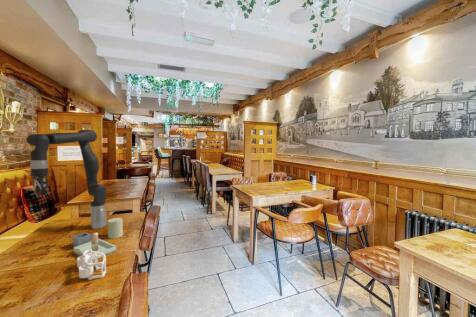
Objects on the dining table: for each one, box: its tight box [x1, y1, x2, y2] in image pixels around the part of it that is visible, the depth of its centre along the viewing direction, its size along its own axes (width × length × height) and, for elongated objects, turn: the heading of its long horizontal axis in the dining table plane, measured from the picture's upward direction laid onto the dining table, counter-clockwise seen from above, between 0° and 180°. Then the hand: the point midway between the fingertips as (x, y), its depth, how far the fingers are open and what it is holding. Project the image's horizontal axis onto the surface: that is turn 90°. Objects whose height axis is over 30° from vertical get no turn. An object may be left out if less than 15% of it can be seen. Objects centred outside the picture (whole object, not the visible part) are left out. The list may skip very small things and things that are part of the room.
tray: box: [73, 238, 117, 262], centre depth 124 cm, size 14×20×3 cm
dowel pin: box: [90, 232, 99, 251], centre depth 124 cm, size 3×3×10 cm
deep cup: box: [72, 232, 92, 248], centre depth 132 cm, size 7×7×6 cm
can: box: [107, 217, 124, 240], centre depth 146 cm, size 9×9×12 cm
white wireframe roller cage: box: [76, 249, 107, 281], centre depth 105 cm, size 20×11×7 cm, turn 41°
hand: (40, 194), depth 124 cm, fingers open, 8 cm apart
